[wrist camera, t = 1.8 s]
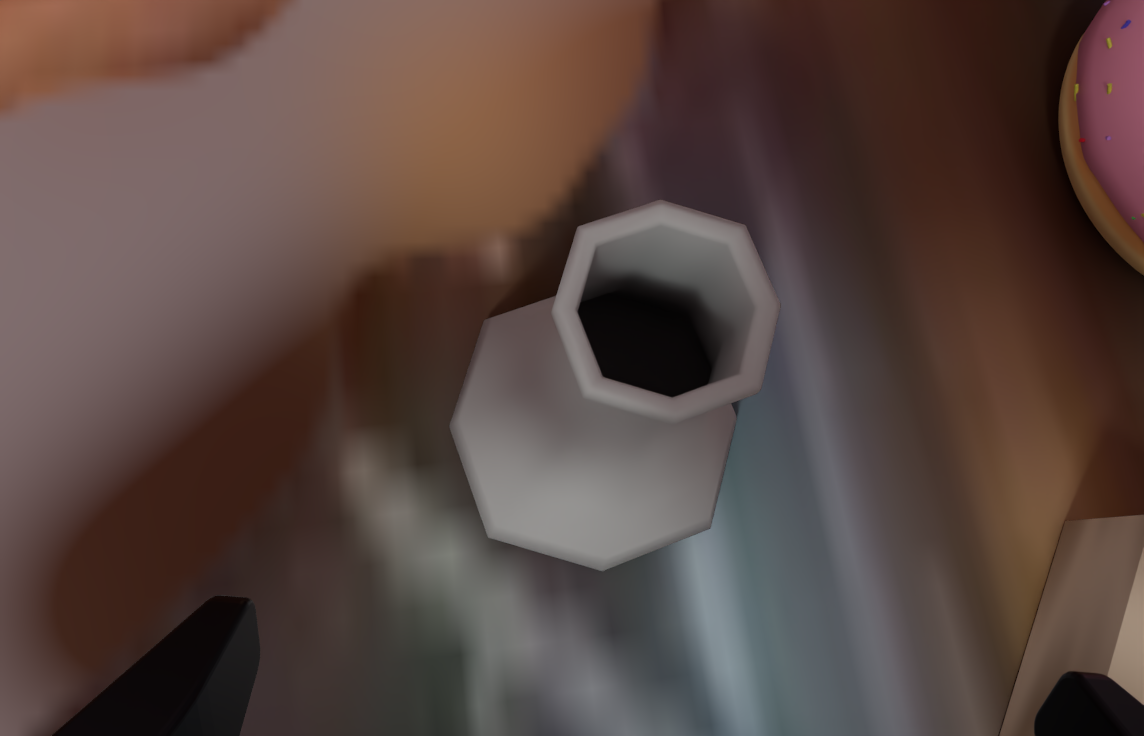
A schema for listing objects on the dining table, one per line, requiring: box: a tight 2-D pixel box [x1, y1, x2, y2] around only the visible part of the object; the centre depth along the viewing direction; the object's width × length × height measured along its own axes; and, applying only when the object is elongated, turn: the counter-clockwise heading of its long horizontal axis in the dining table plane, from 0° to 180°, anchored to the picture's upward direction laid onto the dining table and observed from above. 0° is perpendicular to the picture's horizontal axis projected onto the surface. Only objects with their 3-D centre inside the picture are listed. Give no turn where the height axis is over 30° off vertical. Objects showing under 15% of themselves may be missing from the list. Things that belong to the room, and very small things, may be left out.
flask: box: [449, 199, 781, 571], centre depth 16 cm, size 7×7×10 cm
